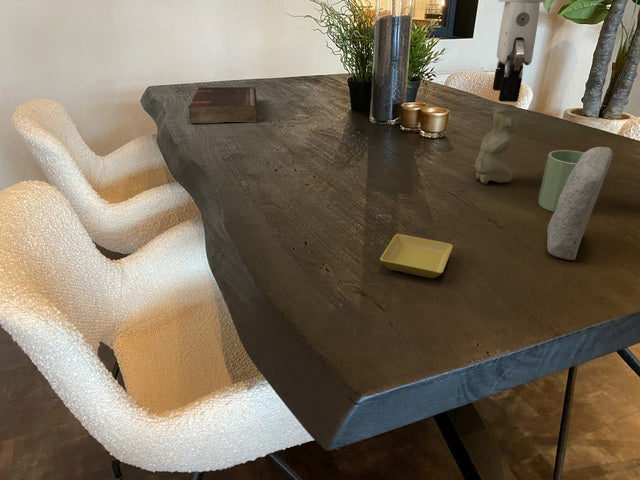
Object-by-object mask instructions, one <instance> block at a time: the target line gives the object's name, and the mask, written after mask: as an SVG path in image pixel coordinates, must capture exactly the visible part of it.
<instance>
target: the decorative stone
mask: <svg viewBox="0 0 640 480" xmlns="http://www.w3.org/2000/svg"><path fill="white" fill-rule="evenodd" d="M613 153H614V152H613V149H611V148H610V147H608V146H595V147H591V148H590V149H588V150H586V151H585V152H584V153H583V154H582V156H581V157H580V159H579V161H578V162H577V164H576V165H575V167H574V168H573V170H572V172H571V174H570V175H569V177H568V179H567V182H566V184H565V186H564V188H563V191H562V193H561V195H560V197H559V200H558V203H557V208H556V211H555V212H553V214H552V216H551V218H550V221H549V223H548V226H547V230H546V235H547V238H546V239H547V240H546V249H547V252H548V254H550V255H552V256H554V257H556V258H559V259H563V260H567V261H575V260H576V259H577V258H576V257H577V255H578V253H579V252H578V251H579V248H580V245H581V242H582V239H583V236H584V235H585V233H586V230H587V228H588V224H589V221H590V218H591V216H592V215H591V214H592V212H593V209H594V208H595V205H596V202H597V199H598V197H599V194H600V192H601V189H602V186H603V184H604V182H605V179H606V177H607V174H608V171H609V168H610V166H611V164H612V160H613Z"/></svg>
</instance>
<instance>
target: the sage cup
mask: <svg viewBox="0 0 640 480" xmlns="http://www.w3.org/2000/svg"><path fill="white" fill-rule="evenodd" d="M583 153H585V152H584V151H578V150H573V149H572V150H571V149H560V150H559V149H558V150H557V149H556V150H552V151H550V152H549V153H548V154H547V158H546V162H545V167H544V170H543V176H542V180H541V186H540V188H539V193H538V200H537V202H538V205H539V206H540V207H541V208H543V209H544V210H547V211H550V212H553V213H555V211H556V208H557V203H558V200H559V197H560V195H561V193H562V191H563V188H564V186H565V184H566V182H567V179H568V177H569V175H570V174H571V172H572V170H573V168H574V167H575V165H576V164H577V162H578V161H579V159H580V157H581V156H582V154H583Z"/></svg>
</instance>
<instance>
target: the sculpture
mask: <svg viewBox="0 0 640 480" xmlns="http://www.w3.org/2000/svg"><path fill="white" fill-rule="evenodd" d="M492 111H493V117H492V129H491V130H489V131H488V132H487V134H486V135H485V136H484V137H483V138H482V139H481V142H480V144H479V152H478V155H477V157H476V159H475V162H474V170H475V171H476V172H475V179H477V181H480V182H481V184H484V185H485V184H489V182H490V181H492V182H495V183H499V184H504V183H510V182H511V180H512V179H513V177H514V173H513V170H512V169H511V168H510V167H509V166H508V165H507V164H506V163H504V161H503V160H504V156H505V153H506V152H507V149H508V147H509V146H510V145H511V143H512V141H513V137H512V135H511V134H514V133H515V130H516V128H517V127H518V126H519V125H520V124H519V123H520V118H521V114H522V112H523V111H524V110H523V108H521V107H517V106H516V105H513V104H509V103H508V104H507V103H502V104H497V105H495V106H493V107H492Z"/></svg>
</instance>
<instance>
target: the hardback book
mask: <svg viewBox="0 0 640 480" xmlns="http://www.w3.org/2000/svg"><path fill="white" fill-rule="evenodd" d="M257 100H258V99H257V89H256V87H255V86H227V87H226V86H224V87H223V86H222V87H221V86H219V87H218V86H212V87H211V86H210V87H209V86H208V87H205V86H203V87H200V86H199V87H198V88H197V90H196V92H195V94H194V95H193V98H192V100H191V101H190V103H189V105H188V113H189V120H190V124H225V123H224V122H248V123H255V122H254V121H256V122H257V119H258V112H257V111H258V106H257V104H258V103H257V102H258V101H257ZM220 122H221V123H220ZM222 122H223V123H222Z"/></svg>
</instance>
